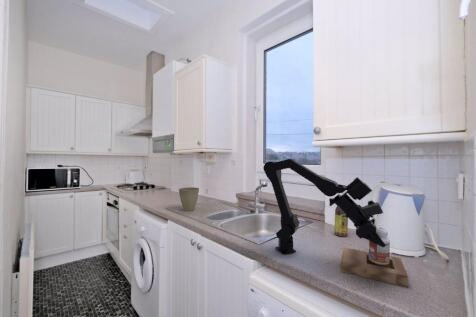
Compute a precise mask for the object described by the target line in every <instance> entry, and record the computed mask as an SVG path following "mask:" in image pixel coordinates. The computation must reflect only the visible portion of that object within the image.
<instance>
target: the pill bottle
mask: <svg viewBox="0 0 476 317" xmlns="http://www.w3.org/2000/svg"><path fill="white" fill-rule="evenodd" d="M376 232H377V234H378V235H379V236H380V238H381V239H382V241H383V242H384V243H385V245H386V246H385V247H381V246H379V245H377V244H375V243H373V242H371V241H369V240H368V252H369V259H370V260H371V261H372V262H374V263H377V264H381V265H386V264H389V256H391V255H390V250H391V248H390V246H391V240H390V238H389V237H388V234H389V233H388V230H385V229H383V228H380V227H379V228H378V227H376Z"/></svg>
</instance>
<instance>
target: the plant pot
mask: <svg viewBox="0 0 476 317" xmlns="http://www.w3.org/2000/svg"><path fill="white" fill-rule="evenodd" d="M199 192H200V188H199V187H194V186H193V187H192V186H191V187H181V188H178V194H179V197H180V198H179V199H180V202H181V205H182V208H183V211H184V212H192V211H195V208H196V205H197V202H198V198H199Z"/></svg>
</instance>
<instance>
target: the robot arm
mask: <svg viewBox="0 0 476 317" xmlns="http://www.w3.org/2000/svg"><path fill="white" fill-rule="evenodd" d="M287 169H290V170H291V171H293V172H294V173H296V174H298V175H299V176H301V177H302V178H304V179H306V180H307V181H308V182H311V183H312V184H313V185H314V186H315V187H316V189H318V190H319V191H320V192H321V193H323V195H324V196H326V197H329V199H328V201H329V207H331V206H333V205H335V206H336V207H337V206H338V207H339V208H340V210H341V211H342V212H343V213H344V214H345V216H346V218H348V220H350V221H351V223H353V226H354V228H355V235H356V236H357V237H358V238H359V240H360V239H365V240H367V241H368V242H369V241H371V242H373V243H375V244H377V245H379V246H381V247H385V246H386V245H385V243H384V242H383V241H382V239H381V238H380V236H379V235H378V234H377V232H376V228H377V225H376V220H375V218H374V216H376V215H381V214H384V211H383V208H382V207H381V205H380V203H379V202H374V200H371V199H370V200H369V201H367V204H365V205H364V206H361V204H358V203H357V202H355V201H357V200H358V201H361V200H362V199H364V198H365V197H367V196H368V195H370V193H372V192H373V190H372V188H371V187H370V186H369V185H368V184H367V183H366V182H364V181H363V180H361V179H360V178H359V177H357V176H356V177H355V178H354V179H353V181H351V182H350V183H349V184H347V185H345V184H340V183H338V182H337V181H335V180H333V179H331V178H328V177H326V176H322V175H319V174H318V173H316V172H314V171H313V170H311V169H309V168H308V167H307V166H305V165H303V164H301V163H299V162H298V161H297V160H296V159H294V158H286V159H285V160H279V161H276V160H273V161H272V160H271V161H266V162H265V163H264V165H263V172H264V173H265V176H266V177H267V179H268V180H269V182H270V183H271V186H272V190H273V192H274V195H275V199H276V203H277V206H278V209H279V213H280V226H281V227H280V229H279V230H278V231H276V233H275V235H276V237H277V239H278V244H277V245H278V246H275V249H276V250H277V251H278V252H279V253H281V254H283V255H287V254H291V253H296V252H297V251H296V249H294V237H293V235H294V234H295V233H296V232H297V231H298V229H299V228H300V221H299V219H298V217H299V216H298V213H295V214H294V213H293V212H292V210H291V207H290V203H289V200H288V196H287V194H286V190H285V188H284V184H283V182H282V170H287ZM332 197H333V198H332ZM354 200H355V201H354ZM370 218H371V219H370Z"/></svg>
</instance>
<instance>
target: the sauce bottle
mask: <svg viewBox="0 0 476 317" xmlns="http://www.w3.org/2000/svg"><path fill="white" fill-rule="evenodd" d="M333 230H334V234H335V236H338V237H347V235H348V233H349V232H348V230H349V218H346V216H345V214H344V213H343V212H342V211H341V210H340V208H339V207H338V206H337V205H336V206H335V210H334V229H333Z"/></svg>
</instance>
